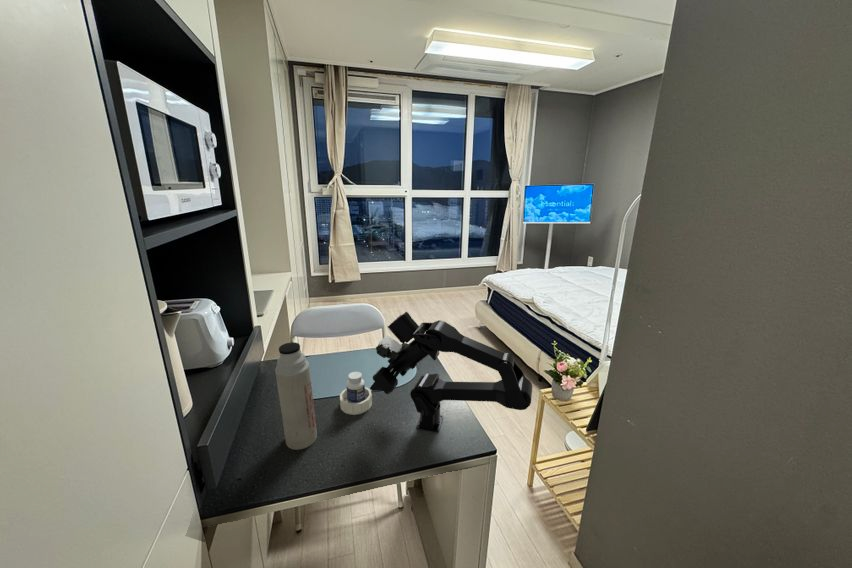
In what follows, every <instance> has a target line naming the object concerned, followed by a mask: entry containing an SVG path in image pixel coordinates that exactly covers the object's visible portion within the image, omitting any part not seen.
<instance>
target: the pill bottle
mask: <svg viewBox="0 0 852 568" xmlns="http://www.w3.org/2000/svg"><path fill="white" fill-rule="evenodd" d="M347 377H348V380H347V381H346V389H347V401H348V403H359V402H362V401H364V400H365V387H366V386H365V385H366V384H365V380H364V379H363V374H362V372H360V371H352V372H350V373H349V374H348V375H347Z"/></svg>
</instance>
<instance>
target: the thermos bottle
mask: <svg viewBox="0 0 852 568" xmlns="http://www.w3.org/2000/svg"><path fill="white" fill-rule="evenodd" d="M278 352H279V357H278V358H277V361H276V367H275V369H274V371H275V372H274V373H275V377H276V385H277V391H278V398H279V405H280V411H281V418H282V425H283V432H284V433H283V434H284V439H285V445H286V446H287V447H288V448H289V449H290V450H297V451H298V450H304V449H306V448H308V447H310V446H311V445H312V444H314V442H316V440H317V438H318V432H317V424H316V413H315V406H314V405H315V404H314V395H313V388H312V378H311V369H310V363H309V361H308V360H307V358H306V355H305V354H304V353H303V352H302V350H301V345H300V343H298V342H293V341H292V342H287V343H283V344H281V345H280V346H279V347H278Z"/></svg>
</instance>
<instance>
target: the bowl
mask: <svg viewBox="0 0 852 568" xmlns="http://www.w3.org/2000/svg"><path fill="white" fill-rule="evenodd" d="M339 400H340V401H339V404H340V410H341V411H342V412H343V413H345V414H346V415H350V416H352V415H353V416H356V415H361V414H363V413H365V412H368V411H369V410H370V409H371V408H372V405H373V395H372V390H371V389H370V387H367V386H365V400H364V401H362V402H359V403H348V401H347V388H345V389H343V390H342V392H341V393H340V394H339Z"/></svg>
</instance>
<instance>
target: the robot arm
mask: <svg viewBox="0 0 852 568" xmlns="http://www.w3.org/2000/svg"><path fill="white" fill-rule="evenodd" d="M387 329H388V330H389V331H390V332H391V333H392V334H393V336H394V337H395V338H396V339H398V341H399V342H400V343H401V344H400V343H399V342H398V341H397V340H395V339H393V338H392V337H390V336H389V335H386V336H384V337H383V338H382V339H381V340H380V341H379V343H378V345H377V346H376V347H375V349H376V355H378V356H379V357H381V358H383V359H385V358H387V359H388V360H387V363H388V365H387V367H386V366H382V367H380V368H379V369H378V370H377V371H376V372H375V373H374V374H373V375H372V380H373V382H372V385H370V387H369V389H370V390H371V392H384V394H386V395H389V394H391V393H392V392H393V391H394V390H395V388H396V387H397V386H398V384H399V381H398V376H399V375H400V376H402V377H405V375H406V374H407V372H409V371H410V370H413V369H415V368H416V366H417V365H418V364H419V363H421V362H422V361H423V360H424V359H426V358H427V357H430V358H431V359H432V360H433V361H436V360H437V358H438V357H439V355H440V352H442V353H455V354H458V355H459V356H462V357H465V358H466V359H469V360H471V361H473V362H476V363H478V364H481V365H483V366H485V367H487V368H490V369H492V370H495V371H496V372H498V373H499V375H500V380H498V381H496V382H495V381H446V380H445V381H444V380H443V379H441V378H440V374H439V373H432V374H431V373H428V372H426V373H425V374H424V375H421V376H420V377H419V378H418V380H417V381H416V382H415V384H414V386H413V387H412V389H411V391H410V399H411V401H413V403H414V406H415V409H416V412H417V413H418V414H419V419H418V421H417V424H416V428H417V429H420V430H425V431H430V432H434V433H439V432H440V429H441V426H442V422H443V420H444V415H441V402H442V401H457V402H458V401H460V402H463V401H465V402H488V403H489V402H491V403H498V405H501V406H503V407H504V408H506V409H512V410H518V411H523V410H527V409H528V408H529V407H530V406H531V404H532V397H533V395H532V394H533V383H532V382H531V380H530V379H528V378H527V376H526V375H525V374H524V371H523V370H522V368H521V367H520V366H519V364H518V363H517V362H516V360H515V358H514V356H513V355H512V354H510V353H508V352H503V351H501V350H499V349H496V348H495V347H494V348H493V347H491V346H489V345H486V344H485V343H481V342H480V341H477V340H475V339H473V338H470V337H468V336H465V335H463V334H462V333H460V332H459V330H458V329H457V328H456V327H454V326H453V325H451V324H450V323H448V322H446V321H444V320H441V319H440V320H435V321H434V322H421V323H420V325H418V323H417V322H416V321H415V320H414V319H413V317H412V316H411V315H410V313H409V312H408V311H405V312H404V313H402V314H400V315H399V316H397V317H396V318H395V319H394V320H393V321H392V322H391V323H390V324H389V325H388V326H387ZM410 341H411V342H410ZM408 342H409V343H408Z"/></svg>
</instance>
